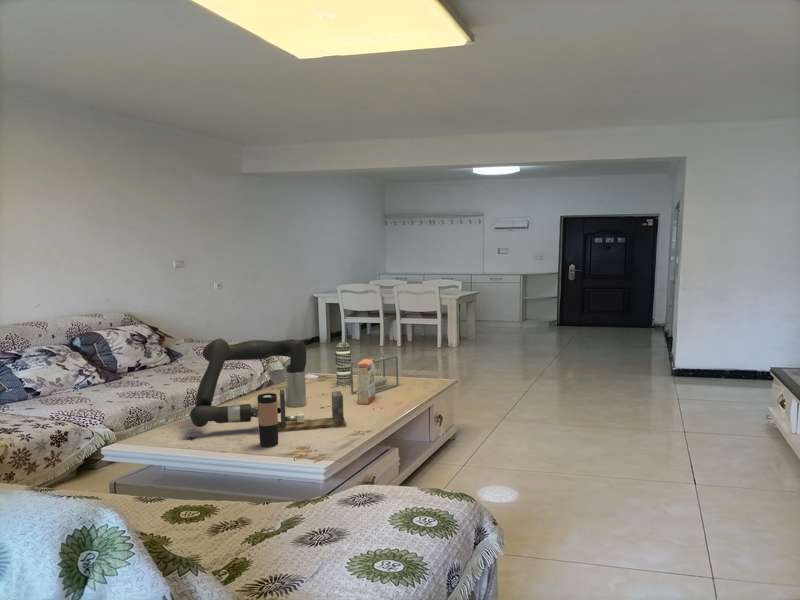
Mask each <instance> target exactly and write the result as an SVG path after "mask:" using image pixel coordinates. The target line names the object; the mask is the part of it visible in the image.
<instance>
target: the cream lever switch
mask: <svg viewBox="0 0 800 600" xmlns="http://www.w3.org/2000/svg"><path fill="white" fill-rule="evenodd" d="M296 416H297V422H304V420H305V413H303V412H302V411H300V410H299V411H298V413H296Z"/></svg>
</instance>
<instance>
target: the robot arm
mask: <svg viewBox="0 0 800 600" xmlns="http://www.w3.org/2000/svg"><path fill="white" fill-rule="evenodd" d="M202 357H203V358H204V359H205V360H206V361H207V362H208V365H207V368H206V370H205V372H204V374H203V376H202V378H201V380H200V383H199V385H198V388H197V392H196V395H195V407H193V408H192V409H191V410H190V412H189V418H190V420H191V423H192V424H193V425H194V426H195V427H197V428H202V427H204V426H206V425H207V424H208V423H209V422H215V423H216V424H226V423H227V424H228V423H231V424H235V423H237V424H238V423H249V422H251V421H252V418H257V419H258V406H254V407H252V406H251V403H246V404H245V403H243V404H231V405H226V406H213V405H212V404H213V403H212V402H213V400H214V396H215V393H216V389H217V388H216V387H217V384H218V381H219V377H220V375H221V372H222V370H223V366H224V364H225V362H229V361H250V360H251V361H252V360H253V361H254V360H255V361H256V360H265V359H269V358H272V357H287V358H290V361H289V362H290V363H289V364H288V365H286V368H285V371H286V372H285V374H286V386H285V406H288V407H291V408H299V407H304V406H306V405H307V392H306V391H307V389H306V366H307V347H306V343H305V342H304V341H302V340H300V339H294V338H289V339H284V340H275V341H274V340H273V341H272V340H263V339H259V340H258V339H254V340H245V341H242V342H238V343H233V344H229V343H228V342H227V341H226V340H225V339H223V338H217V339H214V340H212V341H211V342H209V343H208V344H206V346H204V348H203V351H202ZM277 411H278V414H281V410H280V407H277Z"/></svg>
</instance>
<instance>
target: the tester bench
mask: <svg viewBox="0 0 800 600" xmlns="http://www.w3.org/2000/svg"><path fill="white" fill-rule="evenodd" d="M331 411H332V412H331V416H332V417H324V418H323V417H322V418H320V417H319V418H310V419H309V418H308V419H304V422H297V420H296V421H286V426H283V427H281V421H278V433H284V432H295V431H308V430H309V429H310V430H319V429H318V428H322V429H330V427H334V428H342V427H341V426H346V427H347V422H346V419H345V417H344V395H343V394H342V391H341V390H336V391H334V390H333V391H331Z"/></svg>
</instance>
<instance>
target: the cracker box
mask: <svg viewBox="0 0 800 600" xmlns="http://www.w3.org/2000/svg"><path fill="white" fill-rule="evenodd" d="M363 359H364V360H362V361H361V362H358V363H356V366H357V368H356V370H357V371H356V373H357V391H358V394H357V404H358V405H369V404H370V403H371V402H373V399H374V398H376V393H375V391H376V387H375V379H376V372H375V369H376V368H375V363H374V361H375V360H374V359H375V358H374V359H365V358H363ZM374 400H375V399H374Z"/></svg>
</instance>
